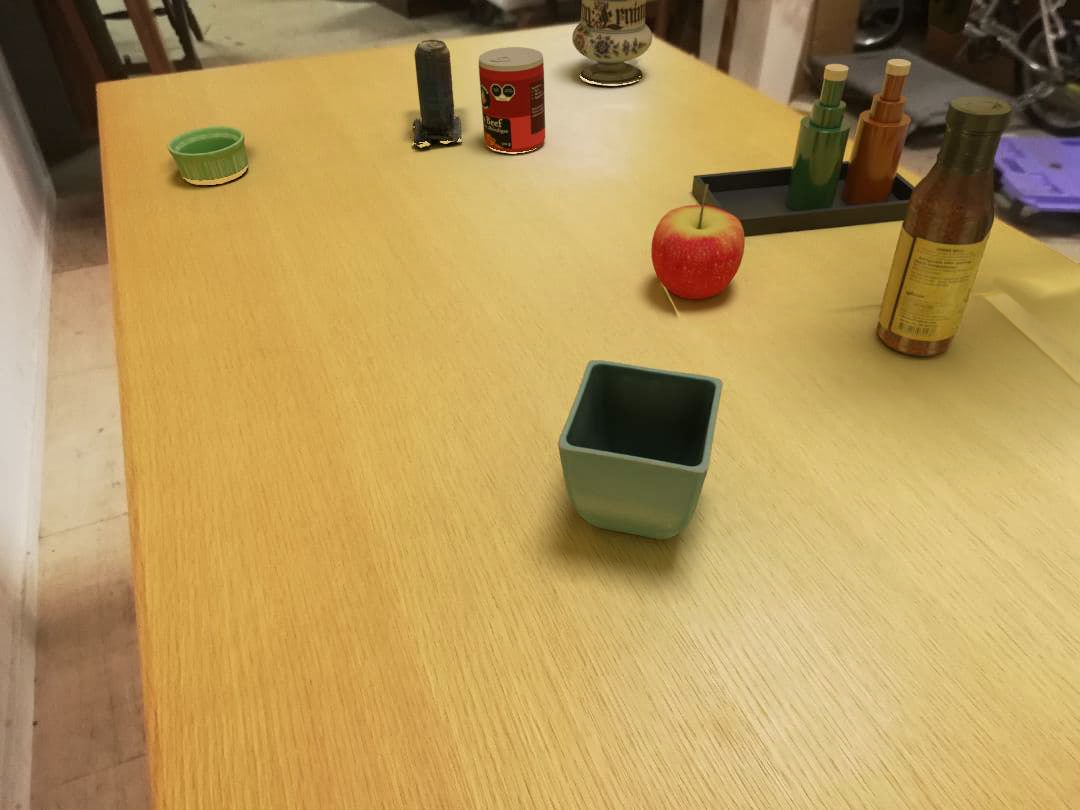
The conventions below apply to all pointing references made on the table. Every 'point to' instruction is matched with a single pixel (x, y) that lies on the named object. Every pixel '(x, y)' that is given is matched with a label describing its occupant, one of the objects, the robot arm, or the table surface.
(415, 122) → the dark pillar on base
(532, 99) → the canned food
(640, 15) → the apothecary jar
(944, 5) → the robot arm
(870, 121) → the amber bottle
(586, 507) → the flower pot
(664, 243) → the apple
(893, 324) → the sauce bottle
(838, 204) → the tray
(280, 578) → the table surface
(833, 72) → the green bottle
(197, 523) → the table surface
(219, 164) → the ramekin
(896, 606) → the table surface
